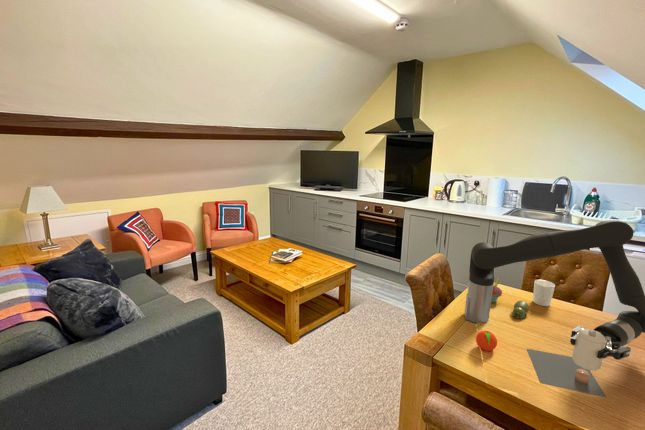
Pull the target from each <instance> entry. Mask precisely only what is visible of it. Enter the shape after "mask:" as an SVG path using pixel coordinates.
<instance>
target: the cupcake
mask: <svg viewBox="0 0 645 430" xmlns="http://www.w3.org/2000/svg"><path fill="white" fill-rule="evenodd" d="M499 280H500V277H497V278H496V282H495V283H494V284H493V291H492V299H491V303H495V302H497V301H498V299H499V298H500V297H501V296H502V294H503V291H502V289H501V288H500V287H498V286H497V285H498V284H499V283H498V281H499Z"/></svg>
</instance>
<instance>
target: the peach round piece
mask: <svg viewBox="0 0 645 430" xmlns="http://www.w3.org/2000/svg"><path fill="white" fill-rule="evenodd" d="M589 378H590V374H589V373H588V372H587V371H585V370H583V369H577V370H576V374H575V380H576V381H577V382H578V383H580V384H584V385H587V384H588V382H589Z"/></svg>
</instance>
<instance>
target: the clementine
mask: <svg viewBox="0 0 645 430" xmlns="http://www.w3.org/2000/svg"><path fill="white" fill-rule="evenodd" d="M475 342H476V345H477V347H478V348H480V349H481V350H483V351H486V352H490V351H493V350H495V349H496V348H497V345H498V340H497V337H496V336H495V334H494V333H493V332H491V331H490V330H489V331H488V330H481V331H478V333H477V334H476V337H475Z"/></svg>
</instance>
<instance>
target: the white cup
mask: <svg viewBox="0 0 645 430" xmlns="http://www.w3.org/2000/svg"><path fill="white" fill-rule="evenodd" d="M555 287H556V284H555V283H554V282H552V281H549V280H546V279H545V280H544V279H535V280H534V285H533V293H532V294H533V296H532V302H533V303H534V304H536V305H539V306H542V307H549V306H550V305H551V302H552V299H553V295H554V291H555Z"/></svg>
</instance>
